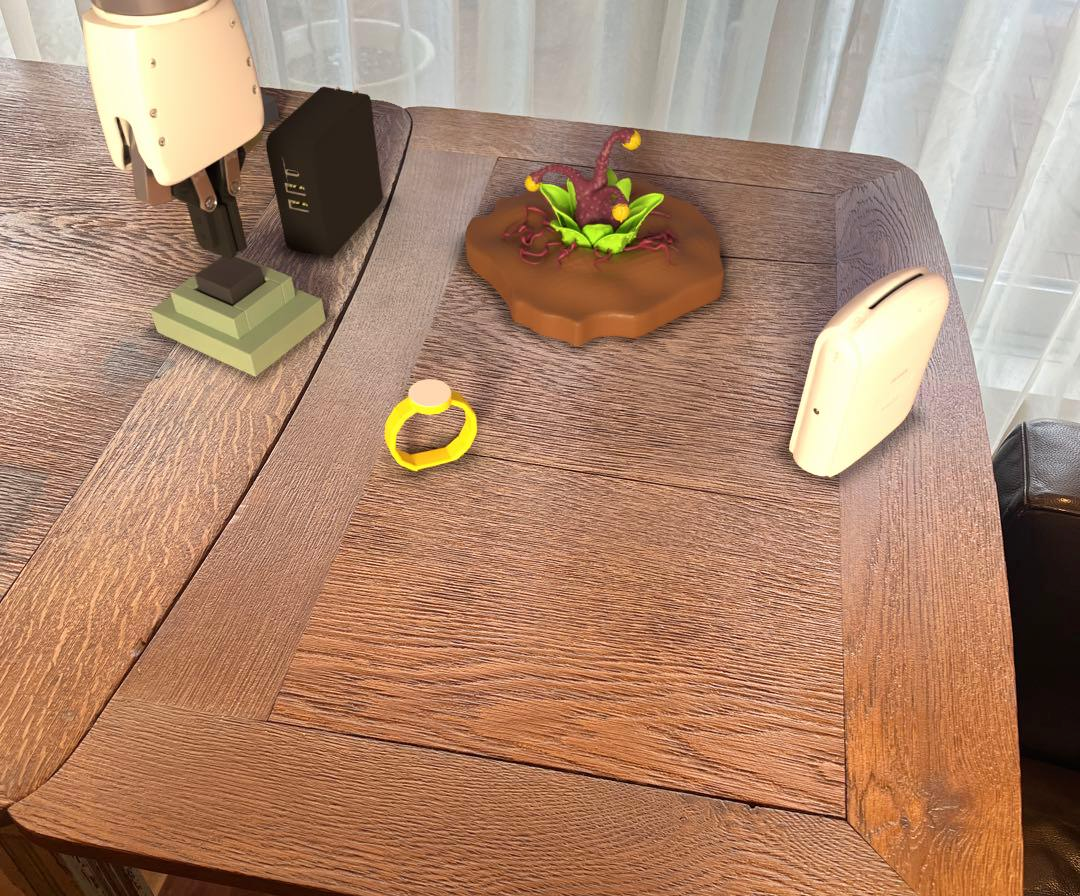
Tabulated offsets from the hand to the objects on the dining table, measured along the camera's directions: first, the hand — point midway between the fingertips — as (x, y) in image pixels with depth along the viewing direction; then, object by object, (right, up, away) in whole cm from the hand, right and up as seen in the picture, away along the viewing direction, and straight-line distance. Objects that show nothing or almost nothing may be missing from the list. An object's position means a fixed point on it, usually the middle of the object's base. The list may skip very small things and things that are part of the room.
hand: (223, 248), depth 74 cm
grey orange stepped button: (-9, +20, +27) cm, 35 cm away
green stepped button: (0, -5, +5) cm, 7 cm away
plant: (+28, +2, +11) cm, 30 cm away
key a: (0, -2, +3) cm, 4 cm away
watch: (+15, -16, -4) cm, 22 cm away
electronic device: (+5, +6, +15) cm, 17 cm away
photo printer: (+44, -14, -2) cm, 46 cm away
